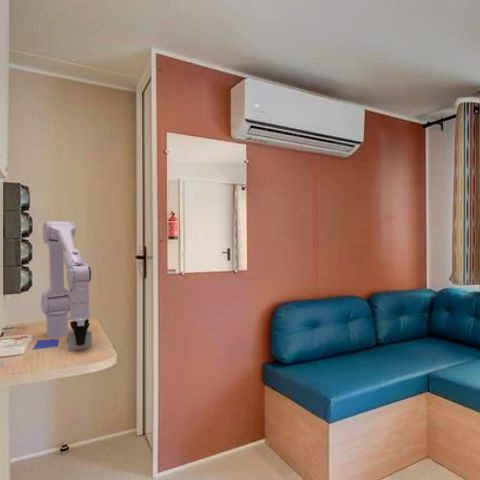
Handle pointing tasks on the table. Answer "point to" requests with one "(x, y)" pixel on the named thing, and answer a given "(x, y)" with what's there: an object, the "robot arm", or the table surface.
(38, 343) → the hard drive
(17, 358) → the table surface
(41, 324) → the table surface
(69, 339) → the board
